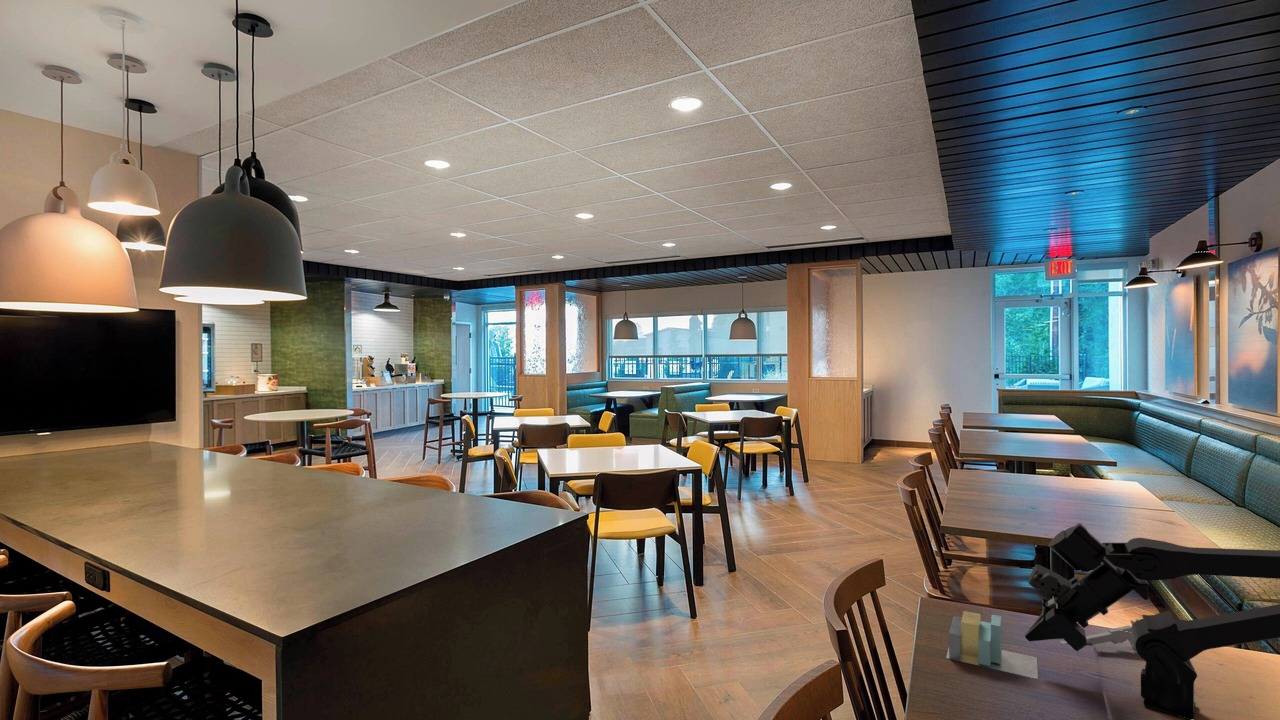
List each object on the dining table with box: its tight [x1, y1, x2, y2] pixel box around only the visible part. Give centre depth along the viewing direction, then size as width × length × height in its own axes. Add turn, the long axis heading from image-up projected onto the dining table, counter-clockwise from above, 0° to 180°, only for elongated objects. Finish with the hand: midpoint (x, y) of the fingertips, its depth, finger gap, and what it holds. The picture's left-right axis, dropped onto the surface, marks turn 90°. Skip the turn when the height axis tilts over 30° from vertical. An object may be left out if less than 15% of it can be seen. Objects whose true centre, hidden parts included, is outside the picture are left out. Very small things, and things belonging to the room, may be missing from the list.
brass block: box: [961, 610, 982, 661], centre depth 120 cm, size 3×6×7 cm, turn 148°
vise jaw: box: [978, 614, 1003, 666], centre depth 119 cm, size 4×9×7 cm, turn 147°
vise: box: [945, 615, 1039, 680], centre depth 119 cm, size 15×9×6 cm, turn 57°
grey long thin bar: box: [1059, 618, 1139, 650], centre depth 124 cm, size 20×1×6 cm, turn 90°
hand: (1026, 638), depth 115 cm, fingers closed
